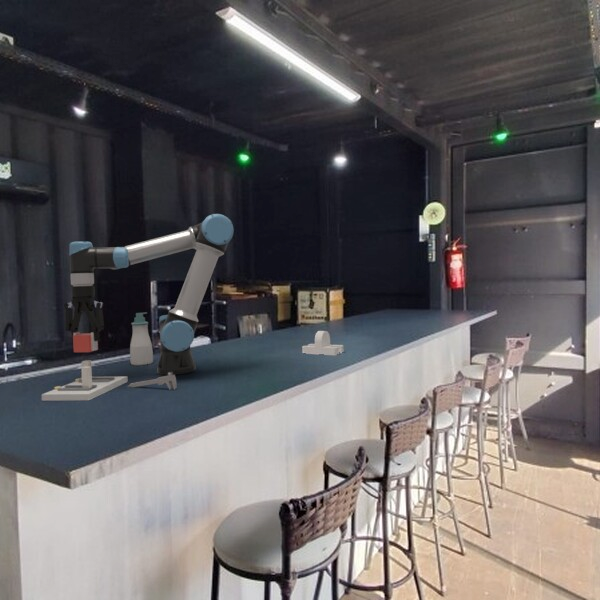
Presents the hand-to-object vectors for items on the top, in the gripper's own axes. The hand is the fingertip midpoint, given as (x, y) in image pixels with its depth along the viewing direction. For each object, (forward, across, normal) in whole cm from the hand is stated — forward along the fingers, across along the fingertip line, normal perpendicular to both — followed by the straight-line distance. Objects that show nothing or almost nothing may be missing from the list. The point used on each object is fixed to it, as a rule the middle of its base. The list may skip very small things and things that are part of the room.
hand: (86, 350), depth 168 cm
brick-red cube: (0, 0, 0) cm, 0 cm away
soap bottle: (+13, 0, -43) cm, 45 cm away
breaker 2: (+11, -7, +12) cm, 18 cm away
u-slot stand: (+13, -80, -65) cm, 104 cm away
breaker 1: (+11, 0, 0) cm, 11 cm away
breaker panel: (+13, -3, +6) cm, 15 cm away
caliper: (+13, -25, +3) cm, 29 cm away
